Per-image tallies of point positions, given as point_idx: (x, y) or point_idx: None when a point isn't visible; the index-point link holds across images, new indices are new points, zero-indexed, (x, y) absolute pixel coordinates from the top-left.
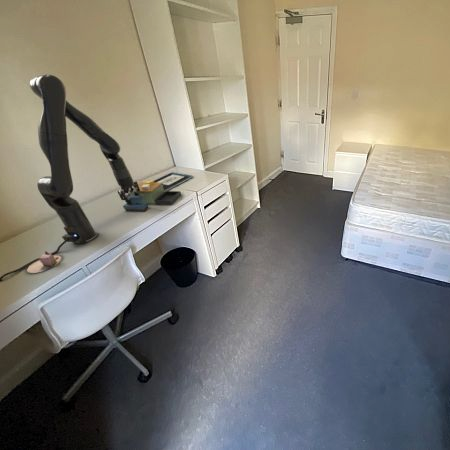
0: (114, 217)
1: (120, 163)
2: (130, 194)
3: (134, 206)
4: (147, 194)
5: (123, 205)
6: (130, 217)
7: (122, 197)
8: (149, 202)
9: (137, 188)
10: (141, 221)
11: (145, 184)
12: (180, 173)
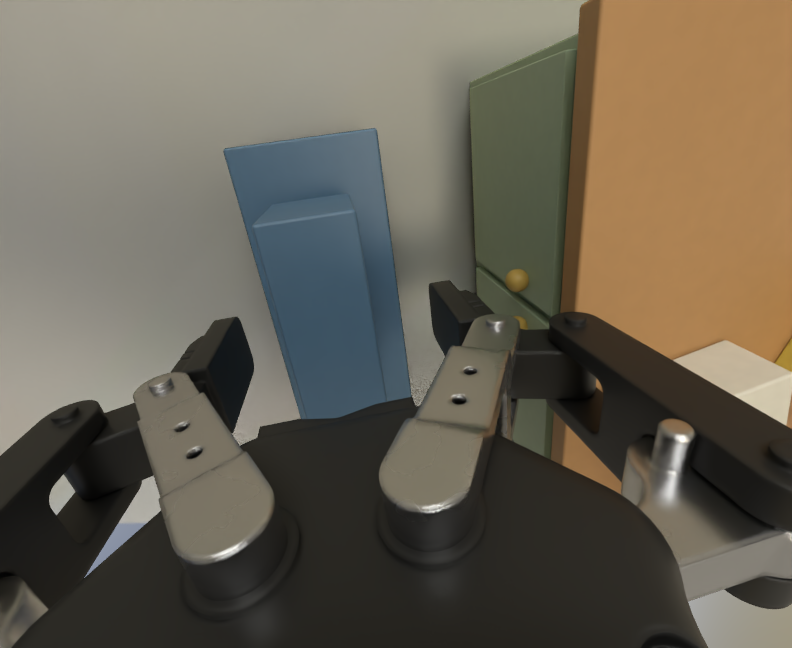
0: (37, 124)
1: None
2: (539, 89)
3: (280, 345)
4: (532, 421)
5: (235, 153)
6: (152, 348)
7: (56, 463)
8: None
9: (577, 425)
10: (148, 501)
11: (786, 407)
12: None
